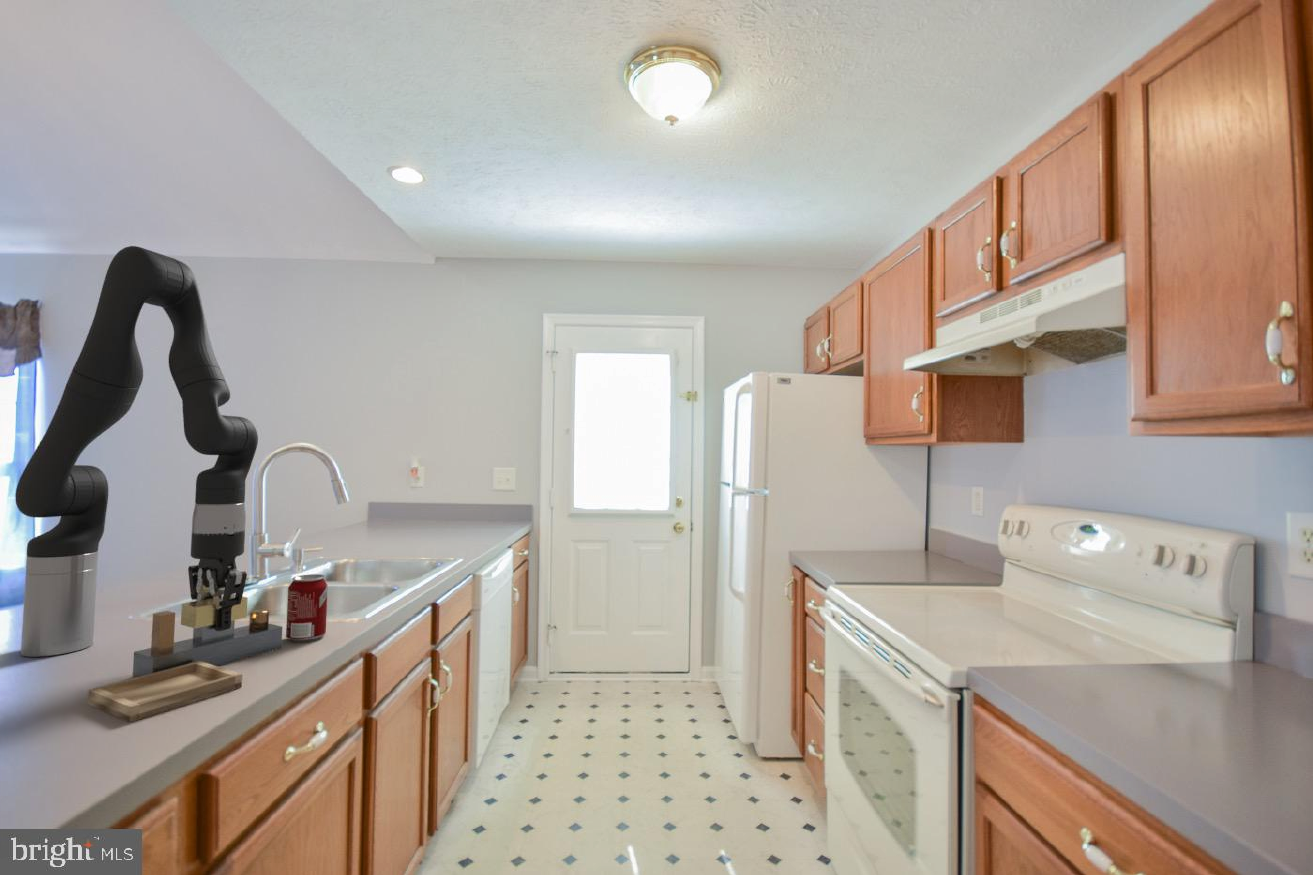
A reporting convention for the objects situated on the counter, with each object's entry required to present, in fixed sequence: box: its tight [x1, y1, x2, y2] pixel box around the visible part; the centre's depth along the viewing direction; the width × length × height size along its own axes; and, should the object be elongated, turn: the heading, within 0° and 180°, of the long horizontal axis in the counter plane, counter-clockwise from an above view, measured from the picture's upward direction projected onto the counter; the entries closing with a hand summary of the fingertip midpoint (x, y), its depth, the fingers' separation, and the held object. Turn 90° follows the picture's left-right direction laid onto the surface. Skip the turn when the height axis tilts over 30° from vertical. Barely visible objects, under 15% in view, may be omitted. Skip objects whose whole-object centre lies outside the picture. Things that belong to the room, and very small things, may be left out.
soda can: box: [285, 573, 329, 643], centre depth 117 cm, size 7×7×12 cm
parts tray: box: [87, 661, 243, 723], centre depth 88 cm, size 12×14×2 cm
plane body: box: [132, 608, 283, 678], centre depth 103 cm, size 20×6×10 cm, turn 154°
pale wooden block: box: [180, 594, 248, 629], centre depth 103 cm, size 4×8×4 cm, turn 154°
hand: (214, 627), depth 103 cm, fingers closed on pale wooden block, 4 cm apart
